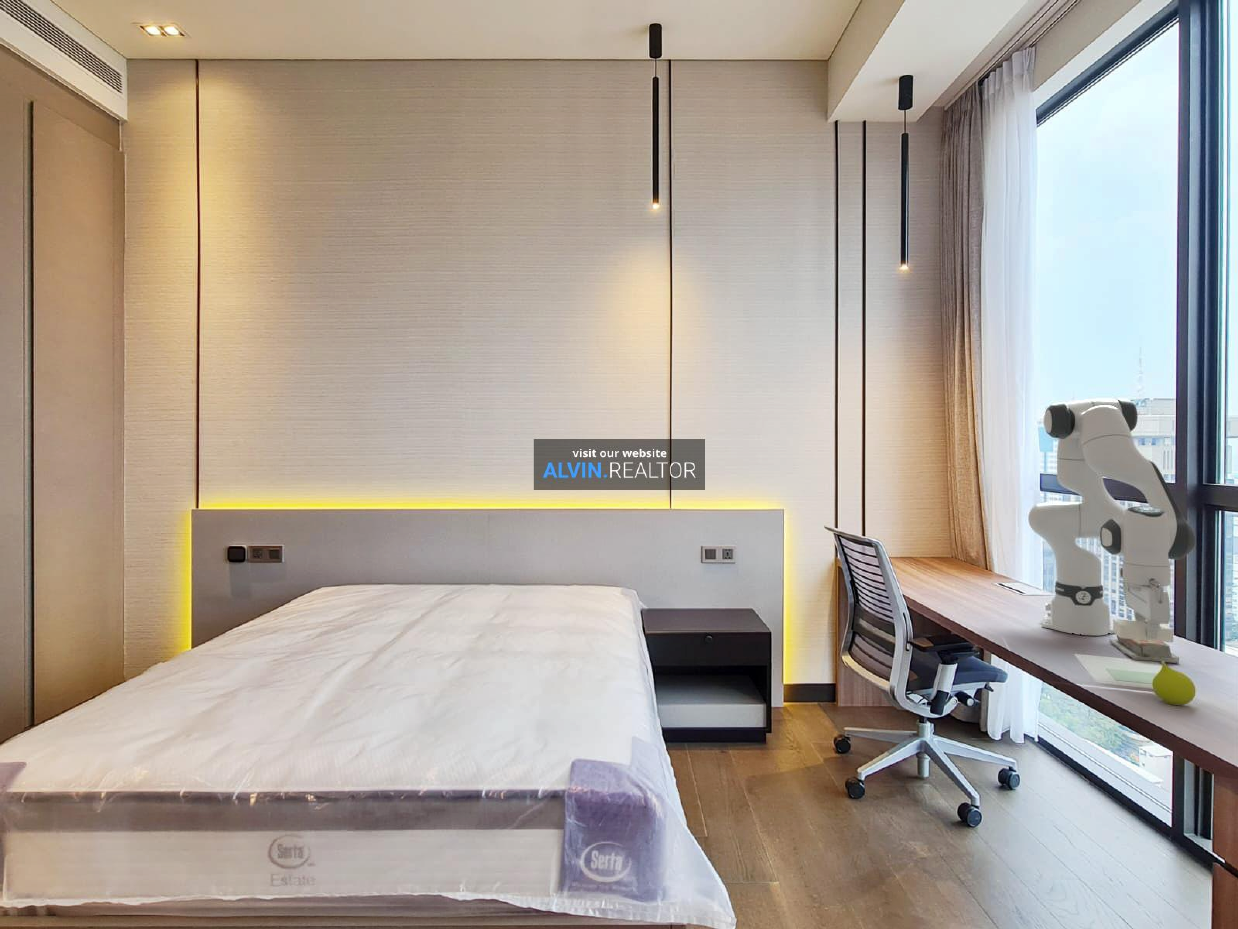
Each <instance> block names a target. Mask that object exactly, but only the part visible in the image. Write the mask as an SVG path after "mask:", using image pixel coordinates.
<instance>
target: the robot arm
mask: <svg viewBox="0 0 1238 929" xmlns="http://www.w3.org/2000/svg"><path fill="white" fill-rule="evenodd" d="M1044 412H1045V413H1044V416H1043V426H1044V429H1045V432H1046V434H1047V435H1049V436H1050V438H1053V439H1054V438H1055V439H1058V442H1057V451H1056V452H1057V453H1056V456H1057V457H1056V481H1057V483H1058V484H1059V485H1060V486H1061V487H1063V488H1065V489H1066V490H1068V491H1070V492H1074V493H1075V494H1077V495H1079V496H1080V497H1081V500H1080V501H1059V500H1057V501H1055V500H1054V501H1047V502H1046V501H1045V502H1040V503H1038V502H1037V503H1035V504H1034V505H1033V506H1032V508H1031V509H1030V511H1029V513H1028V519H1027V520H1028V525H1029V526H1030V528H1031V529H1032V531H1033V532H1034V533H1035V534H1037V535H1038V536H1040V537H1041V538H1043V539H1044V540H1045V542H1046V543H1047V544H1048V545H1049V547H1050V548H1051V550H1052V551H1053V554H1054V558H1055V564H1056V565H1055V566H1056V581H1055V585H1054V593H1055V595H1054V596H1053V598H1052V600H1050V602H1047V603H1045V611H1047V614H1045V615H1044V616H1043V620H1042V627H1043V628H1046V629H1051V630H1056V631H1059V632H1063V633H1068V634H1072V633H1074V635H1080V634H1081V635H1083V636H1105V635H1108V633H1110V634H1115V633H1114V632H1113V626H1111V615H1110V614H1111V613H1110V605H1109V604H1108V603H1107V602H1106V601H1105V600H1104V599H1103V597H1104V592H1105V590H1104V586H1103V585H1102V561H1101V559H1100V558H1099V557H1098V555H1097V554H1095V553H1093V551H1092V552H1091V550H1090V551H1089V550H1088V549H1085V548H1083V547H1080V546H1079V545H1078V544H1077V543H1076V540H1077V539H1093V540H1094V539H1095V540H1100V545H1101V547H1102V548H1103V549H1104V550H1105V551H1106V552H1108V553H1109V554H1111V555H1114V556H1117V557H1118V556H1119V557H1123V560H1122V567H1121V568H1120V569H1119V575H1120V577H1121V578H1122V590H1123V597H1124V598H1123V600H1124V602H1125V605H1126V606H1127V607H1128V608H1130V609H1131V610H1133V616H1134V619H1135V620H1134V621H1144V622H1147V629H1146V636H1147V637H1148V638H1150V639H1156V638H1157V631H1158V629H1159V626H1160V624H1166V625H1169V624H1170V623H1171V622H1170V621H1171V606H1170V605H1171V603H1170V596H1169V593H1168V591H1167V589H1164V587H1168V586H1170V585H1171V561H1170V560H1175V561H1179V560H1181V559H1183V558H1185V557H1186V556H1187V555H1189V554H1190V553H1191V552H1192V551H1193V550H1194V549H1195V546H1196V537H1195V533H1194V532H1195V531H1193V528H1192V527H1191V526H1190V524H1189V523H1188V521H1187V520H1186V519H1185V517H1184V516H1183V515H1182V513H1181V511H1180V508H1179V506H1178V504H1177V502H1176V500H1175V499H1174V496H1173V495H1172V494H1173V493H1172V491H1171V490H1170V488H1169V486H1168V484H1167V482H1166V480H1165V479H1164V477H1163V474H1162V473H1161V471H1160V469H1159V467H1158V466H1157V465H1156V463H1154V462H1153V461H1151V460H1149V459H1147V458H1146V457H1145V456H1144V455H1143V454H1142V453H1141V452H1140V451H1139V450H1138V448H1137V447H1136V445H1135V442H1134V439H1133V435H1132V431H1133V430H1134V429H1135V428H1136V427H1137V423H1138V417H1139V415H1138V410H1137V407H1136V405H1135V404H1134V403H1133V401H1132V400H1130V399H1126V398H1119V397H1115V398H1113V399H1112V398H1088V399H1084V400H1081V399H1080V400H1074V401H1068V402H1063V401H1061V402H1057V403H1054V404H1053V403H1052V404H1051V405H1049V406H1048V407H1047V408H1046V409H1045V411H1044ZM1104 478H1107V479H1110V480H1114V481H1118V482H1121V483H1124V484H1126V485H1127V484H1128V485H1129V486H1132V487H1134V488H1135V489H1138V490H1139V491H1140V492H1141V493H1142V494H1143V495H1144V497H1145V499H1146V502H1147V503H1148V505H1149V506H1143V505H1142V506H1141V505H1140V506H1139V505H1138V506H1131V507H1128V508H1126V506H1124V505H1123V504H1121V503H1119V501H1117V500H1115V499H1114V498H1113V496H1111V494H1110V493H1109V492H1108V490H1107V488H1106V486H1105V482H1104Z"/></svg>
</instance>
